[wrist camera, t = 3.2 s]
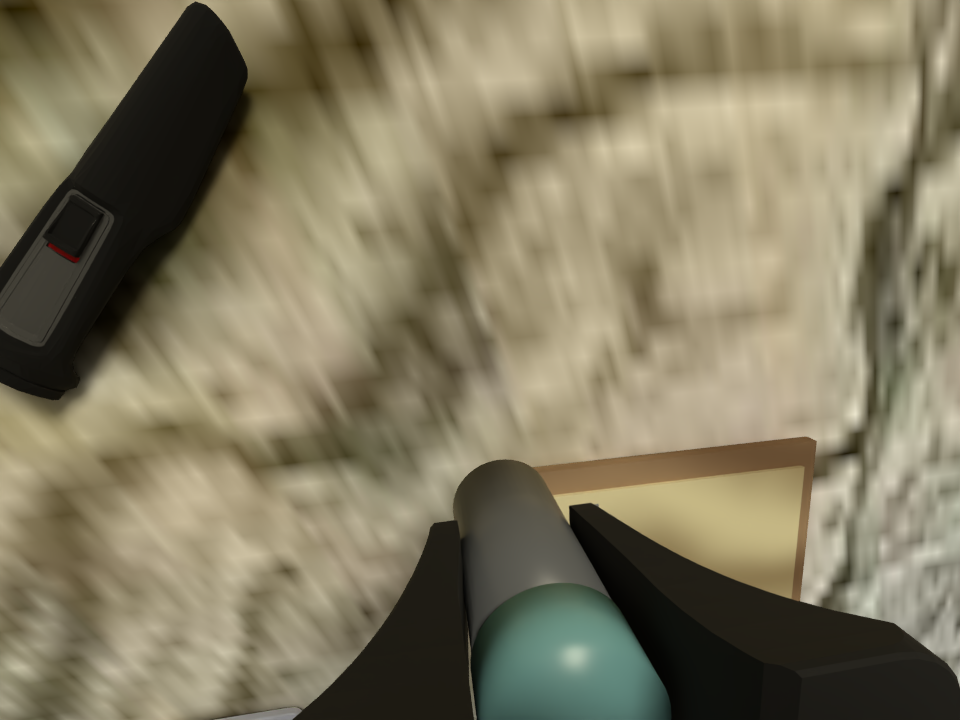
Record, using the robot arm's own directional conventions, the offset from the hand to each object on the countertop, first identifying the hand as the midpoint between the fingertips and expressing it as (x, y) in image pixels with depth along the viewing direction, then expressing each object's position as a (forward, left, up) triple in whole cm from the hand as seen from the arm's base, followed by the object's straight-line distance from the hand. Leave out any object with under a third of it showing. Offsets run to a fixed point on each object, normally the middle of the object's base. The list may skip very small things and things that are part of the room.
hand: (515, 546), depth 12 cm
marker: (0, 0, -2) cm, 2 cm away
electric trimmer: (+10, +13, -9) cm, 19 cm away
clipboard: (-8, -9, -9) cm, 15 cm away
